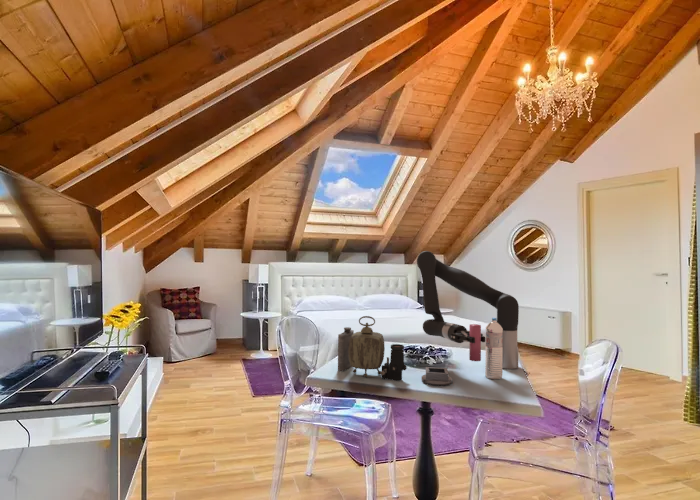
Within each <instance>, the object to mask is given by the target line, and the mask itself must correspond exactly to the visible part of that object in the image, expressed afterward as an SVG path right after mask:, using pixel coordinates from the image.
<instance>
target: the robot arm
mask: <svg viewBox="0 0 700 500" xmlns="http://www.w3.org/2000/svg"><path fill="white" fill-rule="evenodd" d="M416 265H417V267H418V269H419V272H420V274H421V281H422V295H423V296H422V297H423V307H424V313H425V314H427V315H431V316H432V317H433V318H431V319H425V321H424V322H423V323H422V330H423V332H424V333H425V334H427V335H428V336H432V337H441V338H443V339H446V340H448V341H451V342H453V343H457V344H462V343H464V342H466V343H467V342H468V343H469V342H471V343H475V338H474V337H471V336H469V333H470V330H468V329H467V328H466V327H465V326H463V325H460V324H458V323H453V322H451V323H450V322H446V321H445V319H444V317H443V315H442V312H441V309H440V302H439V293H438V289H437V288H438V287H437V282H436V277H437V278H438V279H441V281H444V282H445V283H446V284H449V285H450V286H451V287H453V288H454V289H456V290H458V291H460V292H462V293H464V294H466V295H468V296H470V297H473V298H475V299H478V300H480V301H483V302H485V303H487V304H488V305H490V306H492V307H493V308H495V309H496V318H497V321H496V322H498V323H499V324H500V325H501V327H502V328H503V332H502V347H503V360H502V361H503V362H502V363H503V364H502V365H503V366H502V367H503V368H502V369H506V370H507V369H508V370H509V369H510V370H514V369H519V347H518V327H519V326H518V325H519V313H520V312H519V310H520V308H519V302H518V300H517V299H516V298H515V297H514V296H513V295H511V294H509V293H505V292H502V291H501V290H500V291H499V290H497V289H496V288H493V287H491V286H490V285H488V284H487V283H486V282H484V281H482V280H481V279H479V278H478V277H476V276H474V275H473V274H471V273H469V272H467V271H464V270H462V269H459V268H456V267H453V266H450V265H448V264H445V263H443V262H442V261H440V260H439V259H437V258H436V255H435V254H434V253H433V252H432V251H428V250H425V251H421V252H420V253H419V254H418V256H417V258H416ZM481 343H486V336H484V334H483V333H482V332H481Z"/></svg>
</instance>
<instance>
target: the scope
mask: <svg viewBox="0 0 700 500" xmlns="http://www.w3.org/2000/svg"><path fill="white" fill-rule="evenodd" d="M390 349H391V350H390V357H386V362H385V363H383V364H381V370H380V371H381V372H380V375H381V380H390V381H391V380H392V381H394V382H395V381H396V382H400V381H403V380H402V379H403V371H406V370H407V365H406V364H405V356H404V349H405V345H403V344H399V343H393V344H391V345H390Z"/></svg>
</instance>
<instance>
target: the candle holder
mask: <svg viewBox="0 0 700 500" xmlns="http://www.w3.org/2000/svg"><path fill="white" fill-rule="evenodd" d="M452 378H453V377H451V376H449V370H448V368H447V367H430V366H429V367H428V366H425V374H423V375H421V382H422V383H423V384H425V385H427V384H428V386H431V387H432V386H433V387H447V386H450V385H452V384H453V382H452V381H453V379H452Z"/></svg>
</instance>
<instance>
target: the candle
mask: <svg viewBox="0 0 700 500" xmlns="http://www.w3.org/2000/svg"><path fill="white" fill-rule="evenodd" d="M469 331H470V333H469V336H471V337H474V338H475V343H471V342H468V343H469V346H468V347H469V361H471V362H481V361H482V351H481V350H482V342H481V333H482V325H481V324H474V323H473V324H469Z"/></svg>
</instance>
